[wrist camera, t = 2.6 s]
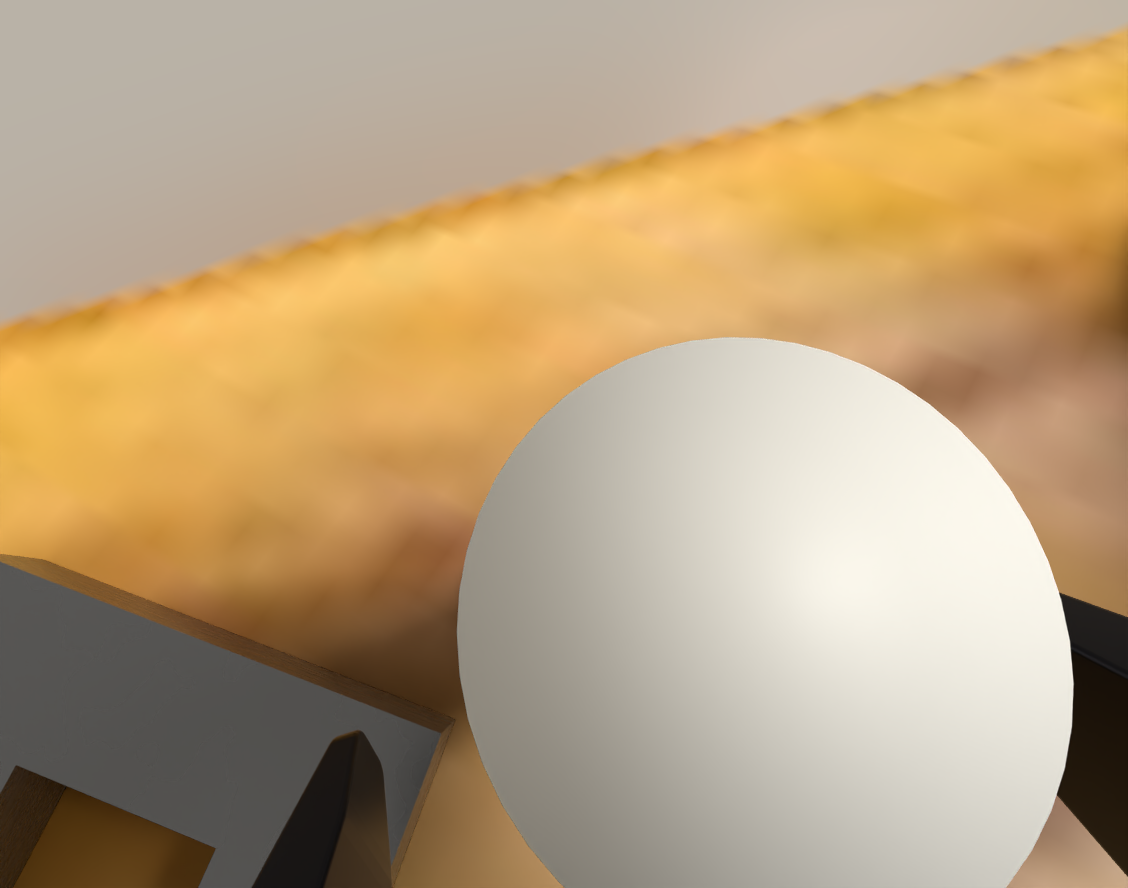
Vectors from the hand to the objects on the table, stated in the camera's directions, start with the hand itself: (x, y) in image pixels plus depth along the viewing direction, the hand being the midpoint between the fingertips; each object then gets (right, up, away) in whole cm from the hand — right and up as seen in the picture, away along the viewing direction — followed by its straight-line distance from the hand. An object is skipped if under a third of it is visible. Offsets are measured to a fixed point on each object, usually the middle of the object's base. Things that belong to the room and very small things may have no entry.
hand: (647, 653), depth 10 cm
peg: (0, -2, +9) cm, 9 cm away
